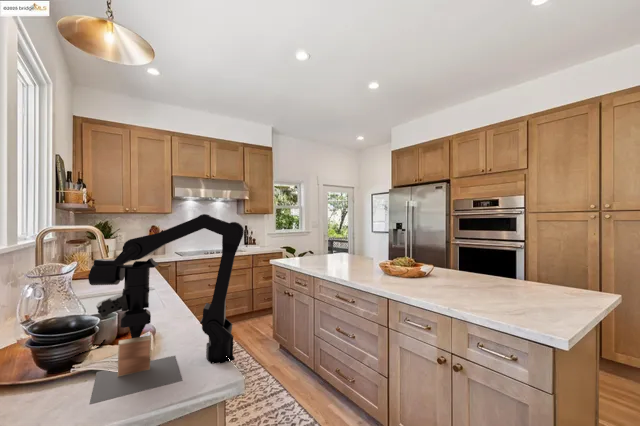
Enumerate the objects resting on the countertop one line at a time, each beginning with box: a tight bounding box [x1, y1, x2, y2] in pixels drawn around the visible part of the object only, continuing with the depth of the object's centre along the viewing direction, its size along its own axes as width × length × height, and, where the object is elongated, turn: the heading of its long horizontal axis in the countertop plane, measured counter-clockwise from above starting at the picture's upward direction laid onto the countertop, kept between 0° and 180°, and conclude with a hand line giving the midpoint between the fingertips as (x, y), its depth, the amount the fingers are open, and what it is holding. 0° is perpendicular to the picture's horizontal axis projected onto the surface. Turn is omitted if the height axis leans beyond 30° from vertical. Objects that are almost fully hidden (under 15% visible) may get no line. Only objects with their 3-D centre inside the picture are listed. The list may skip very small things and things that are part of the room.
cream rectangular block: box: [117, 335, 152, 377], centre depth 75 cm, size 7×3×8 cm, turn 123°
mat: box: [89, 355, 183, 405], centre depth 73 cm, size 18×15×1 cm
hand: (134, 342), depth 79 cm, fingers closed
